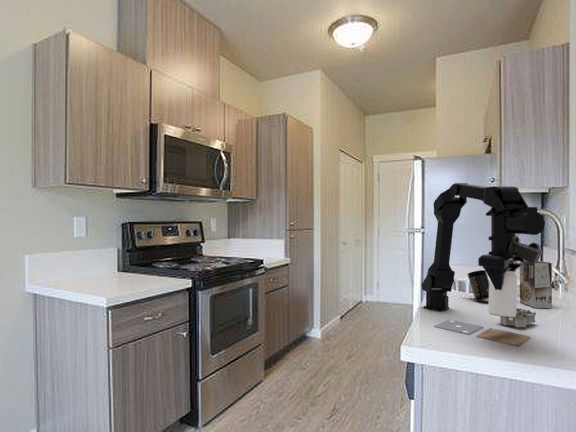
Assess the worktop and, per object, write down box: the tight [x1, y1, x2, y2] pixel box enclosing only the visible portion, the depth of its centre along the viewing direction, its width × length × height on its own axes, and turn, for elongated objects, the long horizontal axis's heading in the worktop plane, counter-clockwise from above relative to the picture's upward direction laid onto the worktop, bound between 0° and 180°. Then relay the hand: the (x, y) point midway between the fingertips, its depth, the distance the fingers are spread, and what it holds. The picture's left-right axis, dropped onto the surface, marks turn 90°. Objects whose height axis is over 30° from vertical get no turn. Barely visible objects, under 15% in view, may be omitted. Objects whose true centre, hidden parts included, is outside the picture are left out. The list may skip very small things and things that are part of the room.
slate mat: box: [433, 319, 484, 336], centre depth 108 cm, size 10×10×1 cm
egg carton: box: [499, 307, 537, 328], centre depth 111 cm, size 11×8×4 cm
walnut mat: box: [476, 327, 532, 348], centre depth 99 cm, size 10×10×1 cm
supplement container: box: [467, 269, 490, 302], centre depth 142 cm, size 7×7×10 cm
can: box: [487, 270, 518, 318], centre depth 98 cm, size 6×6×12 cm
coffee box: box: [519, 260, 553, 309], centre depth 135 cm, size 9×6×16 cm
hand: (503, 290), depth 99 cm, fingers closed on can, 6 cm apart
